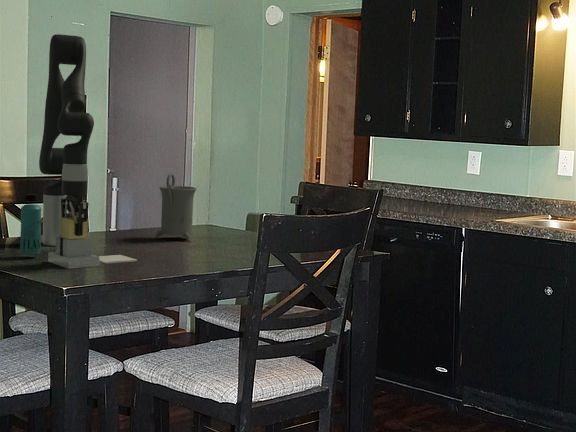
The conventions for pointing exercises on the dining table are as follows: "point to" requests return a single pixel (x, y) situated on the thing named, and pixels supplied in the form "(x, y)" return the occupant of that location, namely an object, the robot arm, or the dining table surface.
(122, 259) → the pad
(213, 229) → the dining table surface
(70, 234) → the brass collar
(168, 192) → the grey looped tall container
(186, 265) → the dining table surface
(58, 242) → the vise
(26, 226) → the beverage bottle
